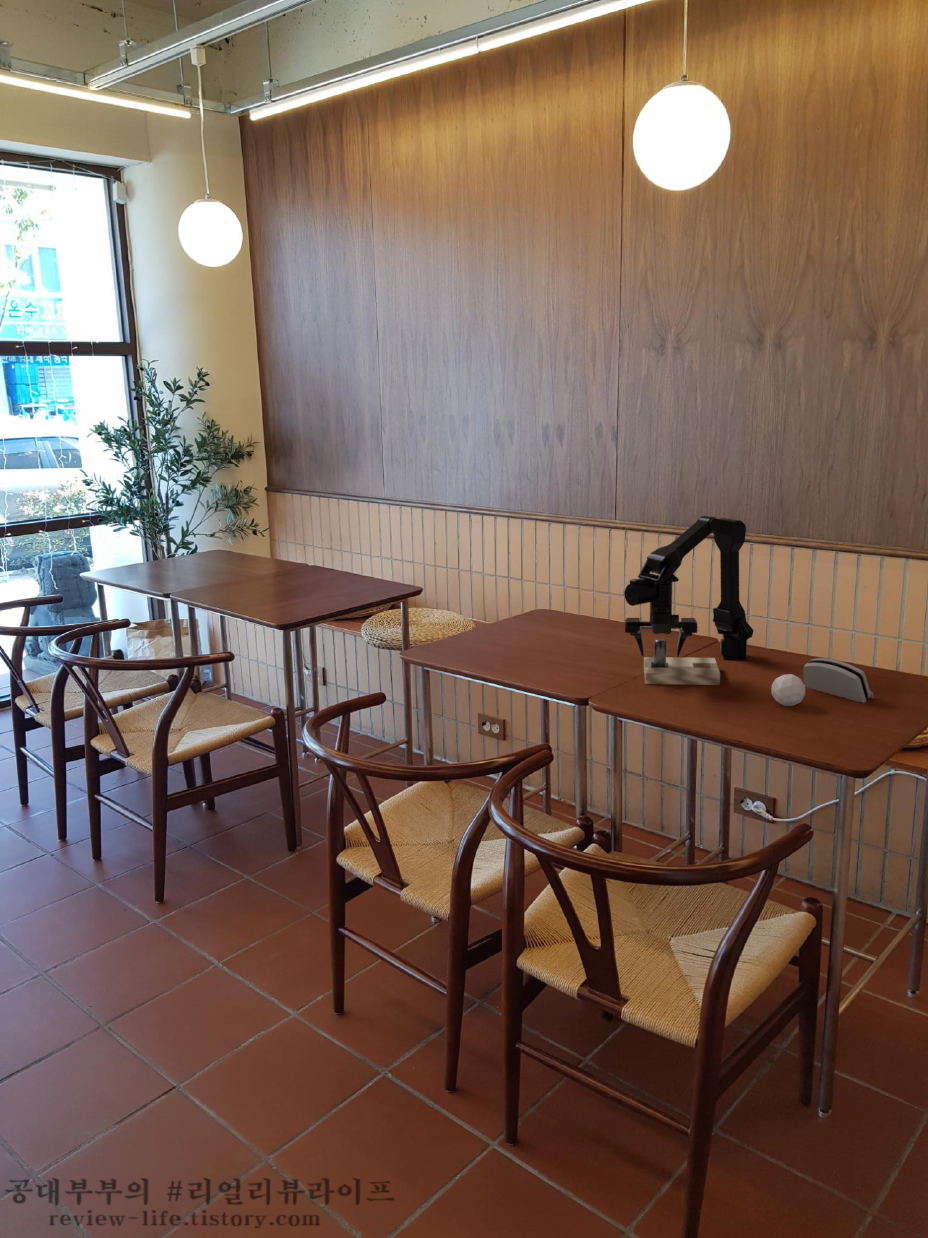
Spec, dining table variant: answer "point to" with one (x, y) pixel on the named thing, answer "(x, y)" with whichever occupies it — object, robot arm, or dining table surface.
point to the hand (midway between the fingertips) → (660, 656)
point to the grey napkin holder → (836, 679)
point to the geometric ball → (788, 690)
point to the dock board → (682, 671)
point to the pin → (660, 653)
